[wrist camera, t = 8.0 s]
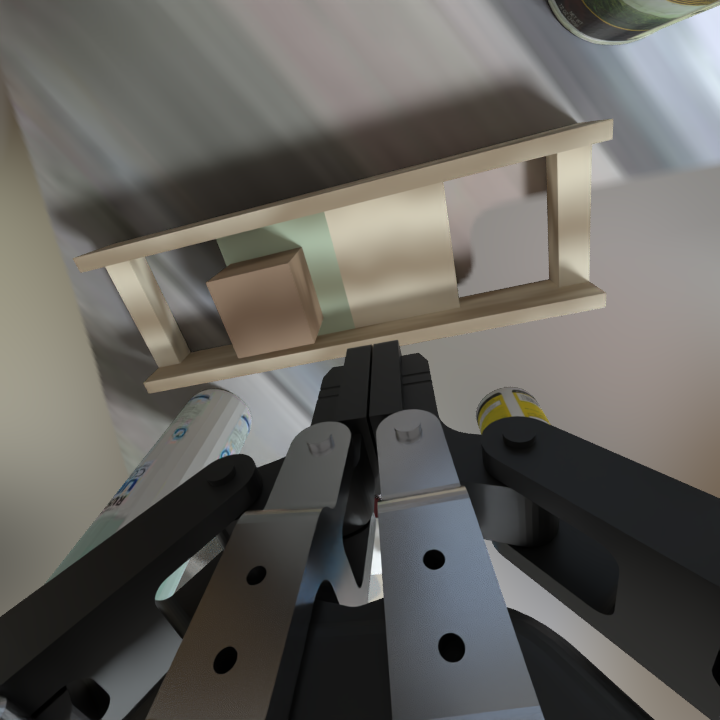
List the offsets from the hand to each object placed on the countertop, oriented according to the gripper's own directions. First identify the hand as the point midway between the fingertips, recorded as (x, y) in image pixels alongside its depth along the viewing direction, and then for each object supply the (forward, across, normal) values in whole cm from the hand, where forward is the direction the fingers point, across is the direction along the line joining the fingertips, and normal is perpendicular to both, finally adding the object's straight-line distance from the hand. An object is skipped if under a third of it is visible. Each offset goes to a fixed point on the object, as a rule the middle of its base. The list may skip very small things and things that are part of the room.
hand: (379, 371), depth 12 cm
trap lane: (+20, +3, +2) cm, 20 cm away
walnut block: (+18, +8, +2) cm, 20 cm away
